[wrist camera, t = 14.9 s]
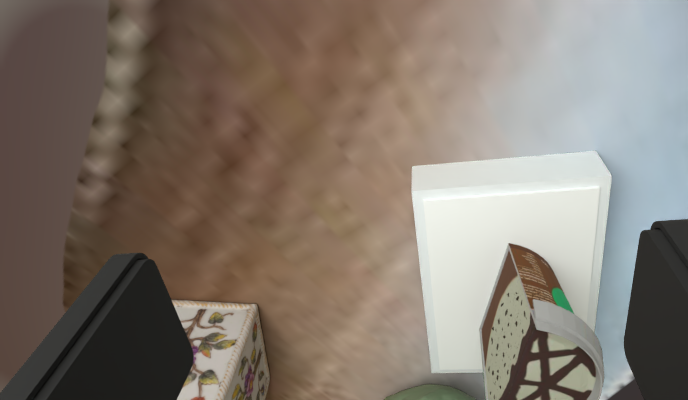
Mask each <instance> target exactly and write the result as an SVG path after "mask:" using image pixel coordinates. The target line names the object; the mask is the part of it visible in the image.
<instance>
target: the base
mask: <svg viewBox="0 0 688 400" xmlns="http://www.w3.org/2000/svg"><path fill="white" fill-rule="evenodd" d="M611 179H612V175H611V174H610V172H609V170H608V169H607V167H606V166H605V164H604V163H603V161H602V160H601V158H600V157H599V155H598V154H597V152H596V151H585V152H573V153H561V154H550V155H538V156H527V157H515V158H503V159H492V160H480V161H468V162H457V163H445V164H433V165H422V166H412V199H413V208H414V217H415V226H416V236H417V245H418V254H419V263H420V272H421V281H422V290H423V299H424V308H425V317H426V326H427V335H428V344H429V353H430V363H431V372H432V373H483V365H482V354H481V343H480V332H479V328H480V325H481V322H482V319H483V316H484V313H485V310H486V307H487V304H488V301H489V299H490V296H491V293H492V290H493V287H494V284H495V281H496V278H497V275H498V272H499V269H500V266H501V263H502V260H503V257H504V254H505V252H506V249H507V246H508V243H511V244H516V245H520V246H523V247H525V248H528V249H530V250H532V251H534V252H536V253H537V254H539V255H540V256H541V257H543V258H544V259H545V260H546V261H547V262H548V263H549V265H550V266H551V268H552V270H553V271H554V273H555V275H556V277H557V279H558V282H559V284H560V286H561V288H562V290H563V292H564V294H565V296H566V298H567V300H568V302H569V304H570V306H571V308H572V310H573V312H574V314H575V315H576V316H577V317H579V318H580V319H582V320H583V321H584V322H585V323H586V324H587V325H588V326H589V327H590V328H591V329H592V330H593V332H594V331H595V322H596V313H597V304H598V295H599V287H600V278H601V269H602V260H603V251H604V242H605V233H606V224H607V215H608V206H609V197H610V188H611Z"/></svg>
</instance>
